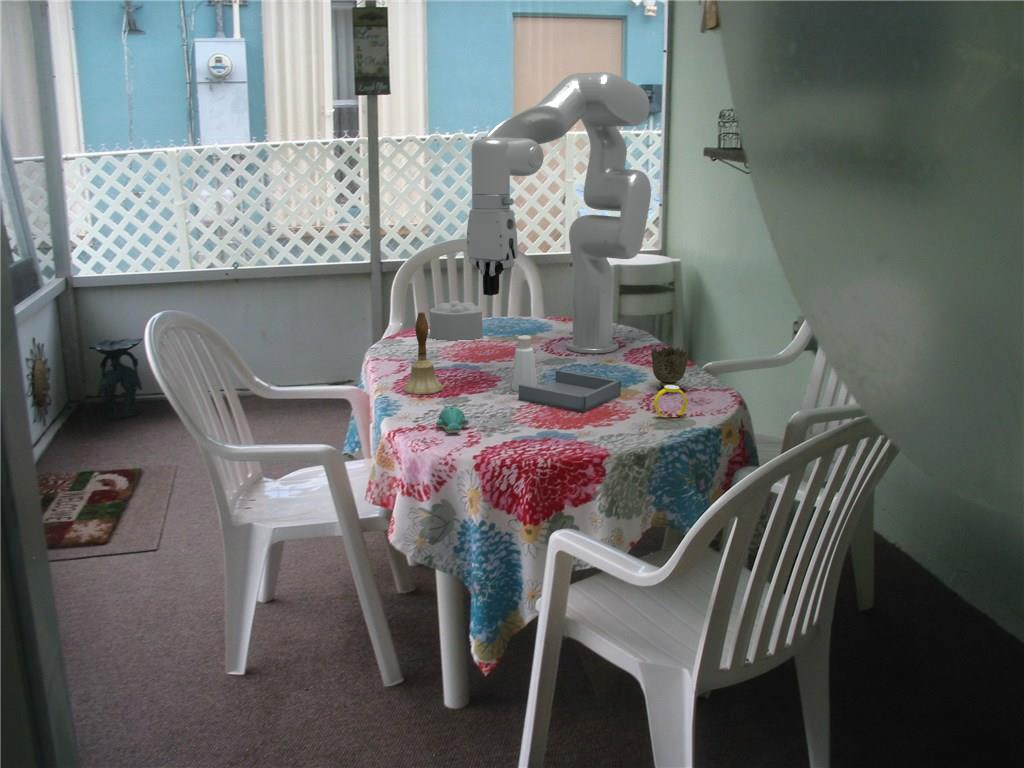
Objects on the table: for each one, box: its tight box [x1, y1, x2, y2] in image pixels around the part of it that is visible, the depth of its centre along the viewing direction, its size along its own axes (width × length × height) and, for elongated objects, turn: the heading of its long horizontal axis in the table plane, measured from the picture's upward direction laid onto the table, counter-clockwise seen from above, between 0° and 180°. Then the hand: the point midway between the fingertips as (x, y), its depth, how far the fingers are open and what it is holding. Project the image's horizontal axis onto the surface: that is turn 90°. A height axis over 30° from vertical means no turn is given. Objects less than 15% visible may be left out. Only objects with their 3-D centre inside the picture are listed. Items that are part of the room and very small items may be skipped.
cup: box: [650, 345, 689, 389], centre depth 190 cm, size 8×7×8 cm
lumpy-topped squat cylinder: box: [429, 300, 483, 342], centre depth 237 cm, size 10×13×9 cm
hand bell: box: [402, 311, 445, 395], centre depth 190 cm, size 8×8×16 cm
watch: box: [653, 385, 688, 418], centre depth 172 cm, size 6×3×6 cm, turn 96°
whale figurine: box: [435, 406, 470, 434], centre depth 167 cm, size 6×7×4 cm
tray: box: [518, 369, 622, 414], centre depth 185 cm, size 14×15×3 cm
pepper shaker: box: [511, 334, 538, 393], centre depth 190 cm, size 5×5×11 cm
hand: (491, 294), depth 191 cm, fingers closed
